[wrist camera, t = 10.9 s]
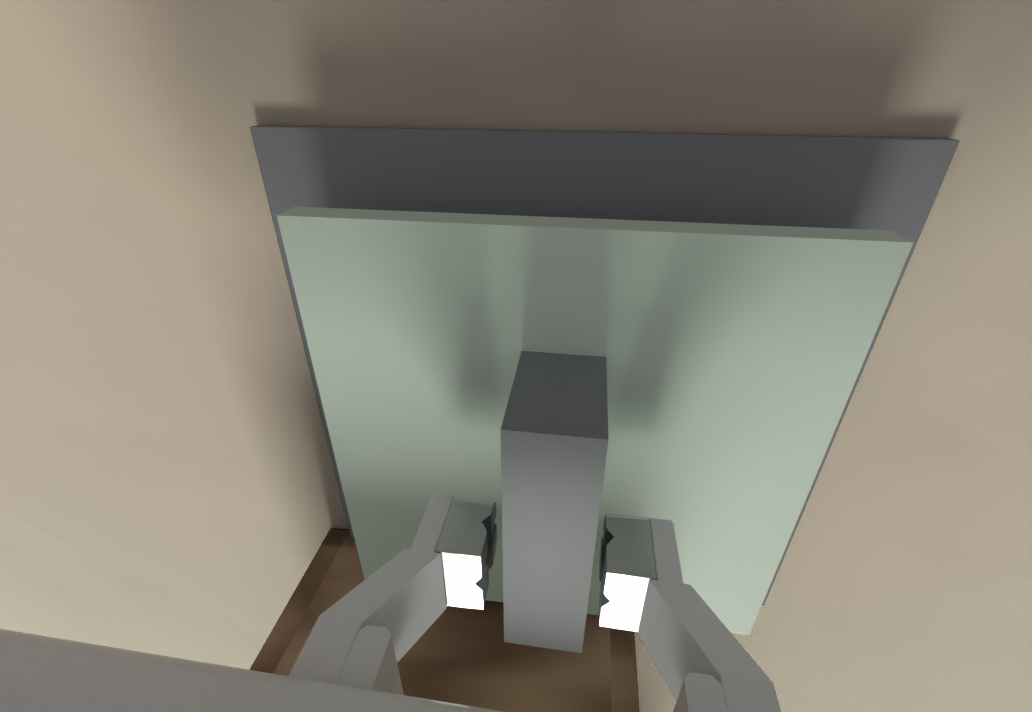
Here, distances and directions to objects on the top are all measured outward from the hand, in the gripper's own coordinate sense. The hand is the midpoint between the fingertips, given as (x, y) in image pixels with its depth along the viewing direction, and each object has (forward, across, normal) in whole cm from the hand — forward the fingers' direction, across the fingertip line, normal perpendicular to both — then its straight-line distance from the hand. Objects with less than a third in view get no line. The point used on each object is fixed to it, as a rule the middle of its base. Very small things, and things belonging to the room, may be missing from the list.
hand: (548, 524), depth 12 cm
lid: (+4, 0, 0) cm, 4 cm away
